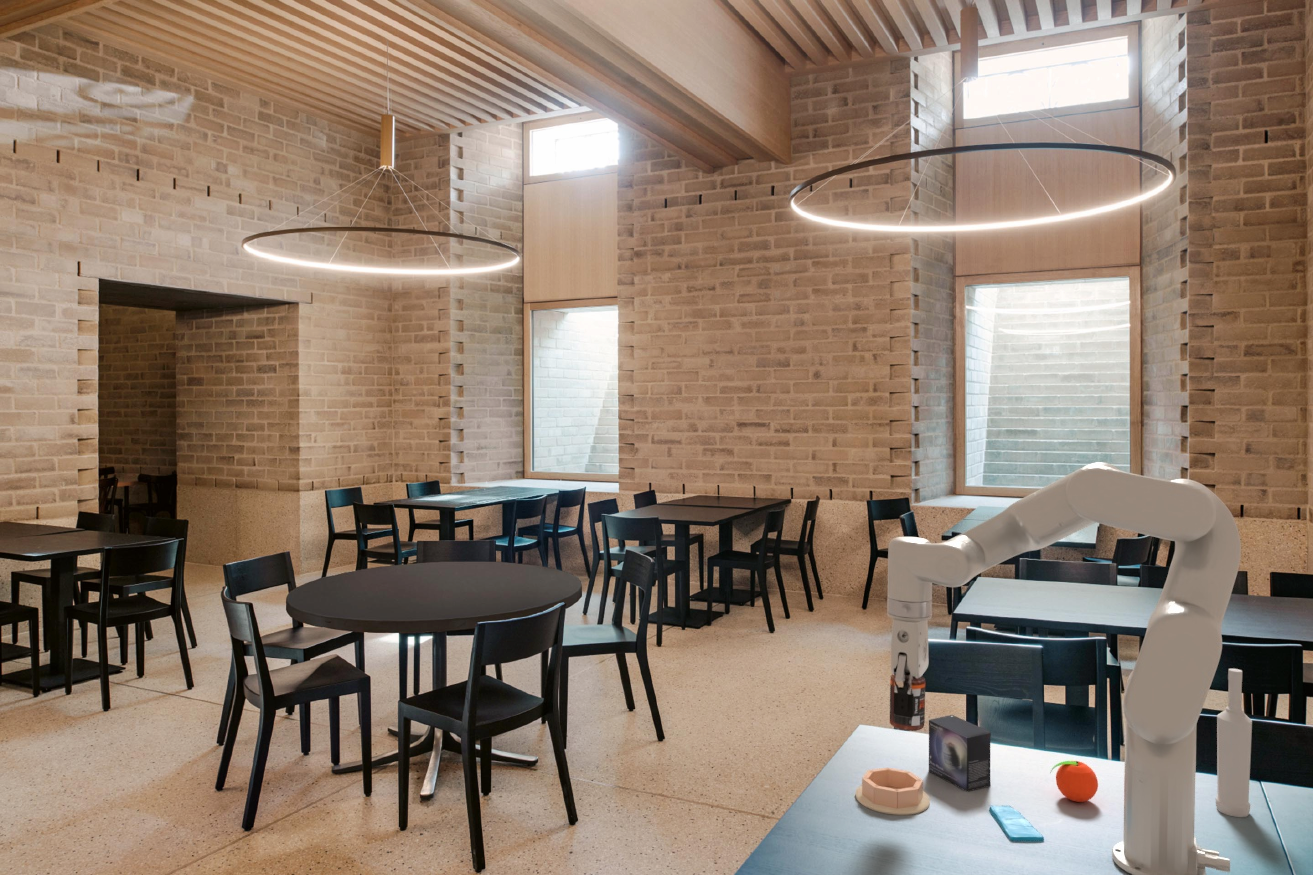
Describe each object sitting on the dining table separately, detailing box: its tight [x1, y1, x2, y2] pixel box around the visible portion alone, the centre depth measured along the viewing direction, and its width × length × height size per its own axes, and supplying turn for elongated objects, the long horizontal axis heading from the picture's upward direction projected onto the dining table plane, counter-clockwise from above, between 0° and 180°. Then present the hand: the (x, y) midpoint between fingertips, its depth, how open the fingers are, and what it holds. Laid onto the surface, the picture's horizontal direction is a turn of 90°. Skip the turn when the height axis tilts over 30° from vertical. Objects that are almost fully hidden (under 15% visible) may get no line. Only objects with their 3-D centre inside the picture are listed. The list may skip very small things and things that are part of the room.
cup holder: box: [855, 767, 931, 816], centre depth 163 cm, size 13×13×4 cm
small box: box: [928, 714, 992, 792], centre depth 172 cm, size 11×6×10 cm, turn 25°
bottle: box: [1215, 668, 1253, 818], centre depth 158 cm, size 5×5×25 cm
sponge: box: [988, 805, 1045, 842], centre depth 153 cm, size 2×12×6 cm
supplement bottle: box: [889, 666, 926, 732], centre depth 158 cm, size 6×6×11 cm
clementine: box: [1049, 760, 1099, 803], centre depth 163 cm, size 8×7×7 cm
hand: (907, 708), depth 158 cm, fingers closed on supplement bottle, 6 cm apart
